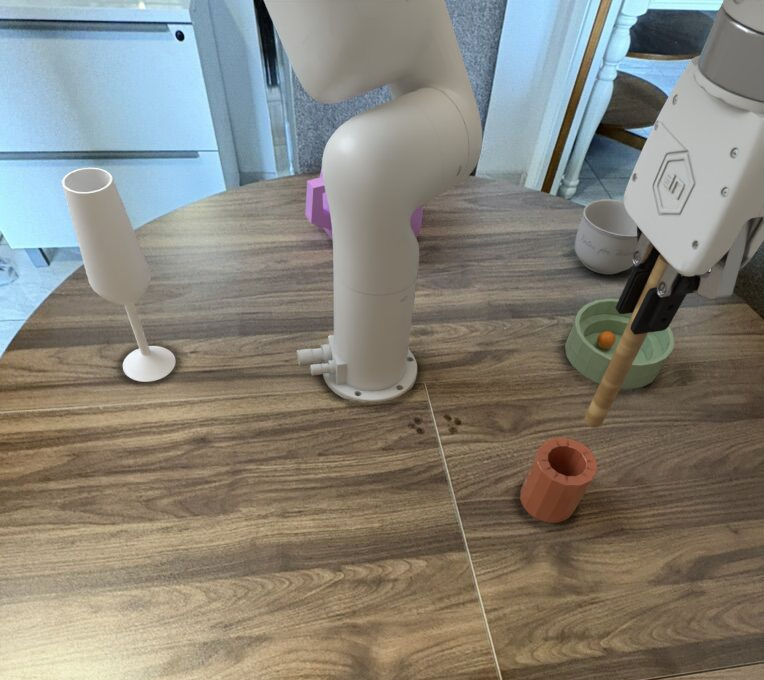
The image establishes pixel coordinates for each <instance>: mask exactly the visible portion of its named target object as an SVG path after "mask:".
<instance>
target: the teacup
mask: <svg viewBox="0 0 764 680" xmlns="http://www.w3.org/2000/svg"><path fill="white" fill-rule="evenodd" d="M637 243H638V242H637V225H636V224H635V223H634V221H633V220H632V219H631V217H630V216H629V215H628V213H627V211H626V209H625V206H624V201H623V200H620V199H612V198H611V199H610V198H605V199H604V198H602V199H596V200H594V201H591V202H589V203H588V204H586V205H585V207H584V208H583V210H582V215H581V219H580V222H579V225H578V229H577V232H576V236H575V240H574V251H575V254H576V256H577V258H578V259H579V260H580V262H581V263H582V265H583V266H584V267H585V268H586V269H588V270H589V271H592V272H594V273H597V274H601V275H615V274H619V273H621V272H624V271H627V270H629V269H631V268H633V267H634V266H635V265H634V264H633V262H632V255H633V252H634V250H635V248H636V245H637Z"/></svg>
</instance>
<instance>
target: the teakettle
mask: <svg viewBox="0 0 764 680" xmlns="http://www.w3.org/2000/svg"><path fill="white" fill-rule="evenodd" d="M320 169H321V170H320V173H319V177H316V178H312V179H308V180H306V197H305V214H304V215H305V217H306V218H307V220H308V221H309V223H310V224H311V225H315V226H318V227H321V228H323V230H324V232H325V233H326V234H327V235H328V237H329V238H330V239H331V241H332V242H333V237H332V225H331V217H330V211H329V205H328V200H327V196H326V191H325V187H324V181H323V175H322V167H321V168H320ZM423 208H424V205H422V206H420V207H419V208H417V209H416V210H415V211H414V213H413V214H412V216H411V219H410V225H411V229H412V231H413V233H414V235H415V236H416V239H417V238H418V236H419V234H420V232H421V229H422V225H423V212H424V211H423ZM417 240H418V239H417Z"/></svg>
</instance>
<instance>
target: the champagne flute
mask: <svg viewBox="0 0 764 680" xmlns="http://www.w3.org/2000/svg"><path fill="white" fill-rule="evenodd" d="M61 185H62V189H63V192H64V193H63V194H64V195H65V196H64V197H65V201H66V203H67V207H68V211H69V214H70V219H71V223H72V226H73V229H74V233H75V237H76V240H77V244H78V247H79V251H80V255H81V259H82V262H83V266H84V270H85V273H86V277H87V281H88V284H89V286H90V288H91V289H92V290H93V291H94V292H95V294H97V295H98V296H99V297H101V298H103V299H104V300H106V301H108V302H110V303H113V304H117V305H120V306H124V308H125V312H126V315H127V317H128V320H129V323H130V326H131V329H132V332H133V335H134V338H135V340H136V343H137V347H138V348H136V349H134V350H132V351H131V352H130V353H129V354H127V356H126V357H125V358H124V360H123V362H122V369H123V370H122V371H123V372H124V374H125V375H126V376H127V377H128V378H130V380H131V379H132V380H133V381H137V382H143V383H148V382H155V381H158V380H161V379H164V378H165V377H167V376H168V375H169V374H171V372H172V371H173V370H174V368H175V367H176V357H175V355H174V353H173V352H172V351H171V350H169V349H168V348H166V347H163V346H159V345H149V344H148V341H147V338H146V335H145V331H144V328H143V325H142V322H141V320H140V319H141V318H140V316H139V313H138V310H137V307H136V304H135V303H137V302H138V301H140V299H141V298H142V297H143V296H145V294H146V293H147V291H148V289H149V287H150V283H151V280H152V274H151V273H152V272H151V269H150V266H149V264H148V262H147V259H146V257H145V254H144V252H143V250H142V247H141V245H140V242H139V239H138V238H137V235H136V231H135V230H134V227H133V225H132V222H131V220H130V217H129V215H128V213H127V210H126V207H125V205H124V202H123V200H122V198H121V194H120V193H119V190H118V187H117V185H116V183H115V179H114V178H113V175H112V174H111V173H110V172H109V171H107V170H105V169H103V168H99V167H82V168H77V169H75V170H72V171H70V172H68V173H67V174H65V175H64V176H63V178H62V179H61Z"/></svg>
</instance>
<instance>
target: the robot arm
mask: <svg viewBox="0 0 764 680" xmlns="http://www.w3.org/2000/svg"><path fill="white" fill-rule="evenodd" d="M263 2H264V4H265V7H266V10H267V12H268V14H269V17H270V20H271V21H272V23H273V26H274V28H275V30H276V33H277V35H278V38H279V41H280V42H281V45H282V47H283V50H284V52H285V55H286V56H287V59H288V61H289V63H290V66H291V68H292V70H293V72H294V74H295V76H296V78H297V80H298V82H299V84H300V86H301V87H302V89H303V90H304V91H305V93H306V94H307V95H308V96H309V97H310V98H312V99H313V100H314V101H315V102H318V103H321V104H329V105H330V104H332V105H333V104H339V103H342V102H343V103H344V102H347V101H349V100H352V99H355V98H357V97H360V96H363V95H365V94H367V93H370V92H372V91H375V90H378V89H380V88H382V87H384V86H386V88H387V89H388V91H389V93H390V96H391V98H392V99H390V100H387V101H385V102H382V103H380V104H378V105H376V106H373V107H371V108H369V109H366V110H364V111H361V112H360V113H357V114H355V115H354V116H352V117H351V118H349V119H347V121H344V123H342V124H341V125H340V126H339V127H338V128H337V129H336V130H335V131H334V132H333V133H332V134H331V136H330V137H329V139H328V141H327V143H326V145H325V146H324V150H323V153H322V158H321V160H322V161H321V168H322V175H323V181H324V187H325V191H326V196H327V200H328V205H329V211H330V217H331V225H332V237H333V241H332V269H333V270H332V271H333V273H332V275H333V278H332V279H333V281H332V282H333V285H332V286H333V334H330V335H327V343H325V344H323V343H322V344H320V347H317V348H316V347H315V348H303V349H302V348H301V349H296V355H297V356H296V358H297V362H298V366H305V365H309V369H310V374H311V376H319V375H322V376H323V380H324V382H325V384H326V385H327V386H328V388H329V389H331V391H332V392H333V393H334V394H336V395H337V396H339V397H340V398H341V399H344V400H353V401H357V402H362V403H383V402H388V401H391V400H394V399H397V398H399V397H401V396H402V395H404V394H406V393H407V392H408V391H410V390H412V388H413V387H414V385H415V383H416V381H417V376H418V363H417V359H416V357H415V355H414V353H413V352H412V351H411V350H410V349H409V345H410V337H411V330H412V321H413V313H414V308H415V307H414V306H415V298H416V289H417V282H418V275H419V274H418V273H419V272H418V271H419V265H420V263H419V262H420V246H419V243H418V242H419V241H418V239H416V236H415V235H414V233H413V231H412V229H411V225H410V219H411V216H412V214H413V213H414V211H415V210H416V209H417V208H419V207H420V206H422V205H423V206H424V205H426V204H427V203H429V202H430V201H431V200H433V199H436V198H437V197H439V196H440V195H442V194H444V193H445V192H447V191H449V190H451V189H453V188H454V187H456V186H458V185H459V184H460V183H462V182H464V181H465V180H466V179H467V178H468V177H469V176H470V175H471V174H472V173H473V171H474V170H475V169H476V167H477V165H478V163H479V160H480V158H481V154H482V148H483V127H482V121H481V116H480V115H481V114H480V112H479V111H480V110H479V108H478V103H477V101H476V97H475V94H474V91H473V87H472V84H471V81H470V77H469V74H468V70H467V67H466V65H465V61H464V57H463V55H462V51H461V48H460V45H459V42H458V38H457V35H456V32H455V28H454V26H453V22H452V19H451V16H450V13H449V9H448V7H447V4H446V1H445V0H263ZM622 201H624V206H625V209H626V211H627V213H628V215H629V216H630V217H631V219H632V220H633V221H634V223H635V224H636V225H637V242H638V243H637V245H636V248H635V250H634V252H633V255H632V262H633V264H634V265H633V266H634V267H632V270H631V272H630V273H629V277H628V279H627V281H626V283H625V285H624V288H623V290H622V292H621V294H620V296H619V298H618V299H619V301H618V303H617V305H616V310H617V311H618V313H619V314H627V313H633V311H634V309H635V307H636V304H637V302H638V300H639V298H640V296H641V294H642V291H643V289H644V287H645V285H646V283H647V281H648V278H649V276H650V274H651V272H652V270H653V268H654V265H655V263H656V261H657V259H658V257H659V255H660V254H661V255H662V256H663V257H664V258H665V259H666V261H667V262H668V265H667V267H666V269H665V271H664V273H663V275H662V277H661V279H660V281H659V283H658V285H657V287H655V288H651V289H649V290H648V292H647V294H646V296H645V298H644V300H643V302H642V304H641V306H640V308H639V310H638V312H637V314H636V316H635V318H634V320H633V322H632V324H631V328H630V329H631V331H632V332H633V334H635V335H637V334H643V333H650V332H657V331H663V330H665V329H667V328H668V327H670V325H671V324H672V321H673V320H674V317H676V314H677V313H678V311H679V308H681V305H682V303H683V302H684V300H685V297H686V296H687V295H690V294H696V295H697V296H700V297H703V298H704V299H706V300H709V301H717V300H723V299H724V300H725V299H729V298H731V297H732V296H733V293H734V290H735V286H736V282H737V279H738V275H739V271H740V270H742V269H743V268H744V267H746V265H747V264H748V263H749V262H750V261H751V259H752V258H753V257H754V255H755V254H756V253H757V251H758V249H759V248H760V246H761V245H762V243H763V242H764V0H722V3H721V4H720V7H719V8H718V10H717V12H716V15H715V19H714V21H713V24H712V27H711V29H710V31H709V34H708V36H707V39H706V40H705V43H704V46H703V48H702V50H701V53H700V54H699V55H696V56H695V57H693V58H692V59H691V60H690V61H689V62H688V64H687V66H686V67H685V69H684V70H683V72H682V73H681V75H680V77H679V78H678V80H677V81H676V83H675V84H674V86H673V88H672V90H671V92H670V94H669V95H668V97H667V99H666V100H665V103H664V104H663V106H662V108H661V109H660V112H659V114H658V116H657V117H656V120H655V122H654V124H653V126H652V128H651V130H650V132H649V134H648V136H647V138H646V141H645V142H644V145H643V147H642V149H641V152H640V154H639V157H638V158H637V161H636V163H635V165H634V167H633V170H632V172H631V174H630V177H629V180H628V182H627V185H626V188H625V191H624V194H623V200H622ZM321 362H322V363H321Z"/></svg>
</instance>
